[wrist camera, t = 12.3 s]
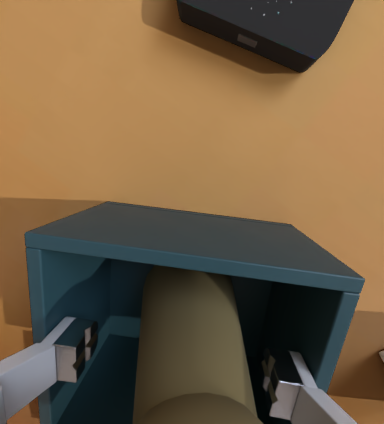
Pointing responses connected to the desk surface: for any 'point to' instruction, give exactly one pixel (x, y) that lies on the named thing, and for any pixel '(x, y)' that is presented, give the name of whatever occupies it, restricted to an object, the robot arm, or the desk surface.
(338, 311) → the bin
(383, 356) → the syrup box
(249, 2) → the smart home device
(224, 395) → the olive pepper mill
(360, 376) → the desk surface
